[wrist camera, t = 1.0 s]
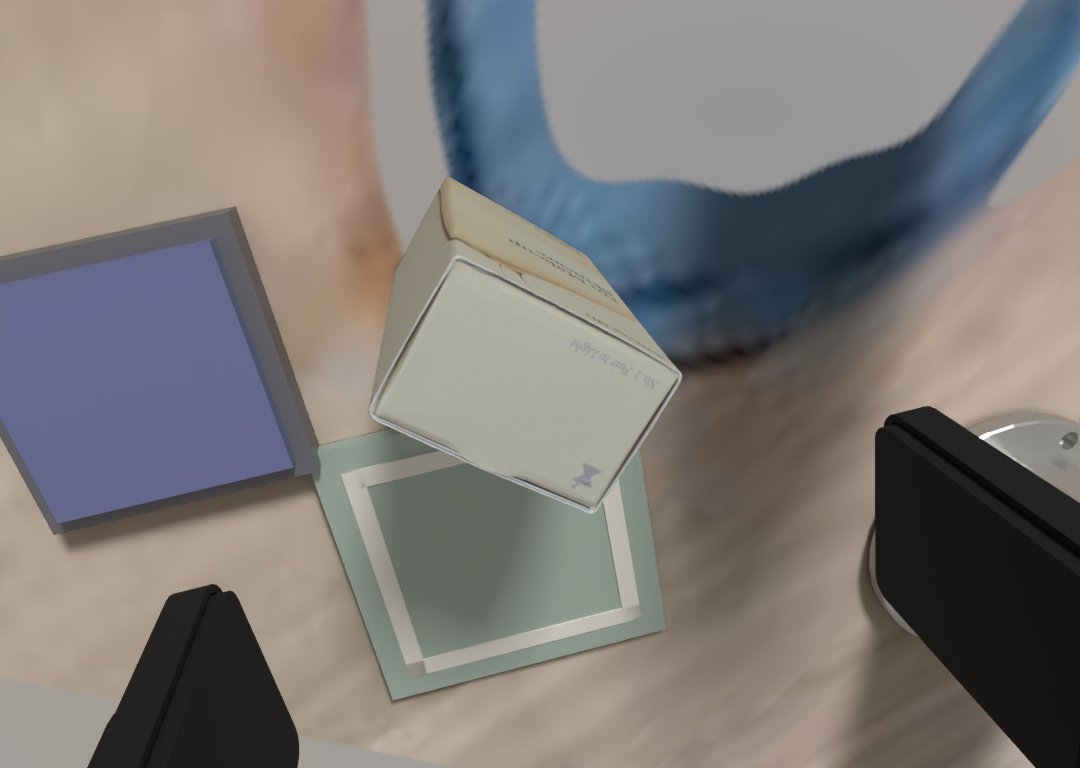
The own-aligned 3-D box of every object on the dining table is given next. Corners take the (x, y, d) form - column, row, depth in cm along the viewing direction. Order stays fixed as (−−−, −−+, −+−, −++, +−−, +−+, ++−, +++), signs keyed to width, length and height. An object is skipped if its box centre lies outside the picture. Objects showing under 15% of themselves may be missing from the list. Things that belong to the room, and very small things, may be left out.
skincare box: (589, 255, 28) (701, 373, 17) (530, 353, 30) (600, 524, 19) (439, 170, 26) (457, 243, 15) (383, 279, 28) (362, 421, 17)
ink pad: (235, 206, 26) (223, 215, 24) (322, 456, 30) (317, 479, 28) (-64, 270, 25) (-98, 284, 24) (67, 517, 29) (46, 544, 28)
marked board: (625, 373, 31) (629, 379, 30) (662, 620, 36) (667, 630, 35) (306, 448, 30) (304, 457, 29) (393, 690, 35) (392, 702, 34)
